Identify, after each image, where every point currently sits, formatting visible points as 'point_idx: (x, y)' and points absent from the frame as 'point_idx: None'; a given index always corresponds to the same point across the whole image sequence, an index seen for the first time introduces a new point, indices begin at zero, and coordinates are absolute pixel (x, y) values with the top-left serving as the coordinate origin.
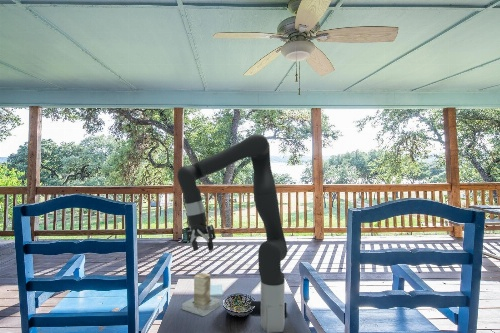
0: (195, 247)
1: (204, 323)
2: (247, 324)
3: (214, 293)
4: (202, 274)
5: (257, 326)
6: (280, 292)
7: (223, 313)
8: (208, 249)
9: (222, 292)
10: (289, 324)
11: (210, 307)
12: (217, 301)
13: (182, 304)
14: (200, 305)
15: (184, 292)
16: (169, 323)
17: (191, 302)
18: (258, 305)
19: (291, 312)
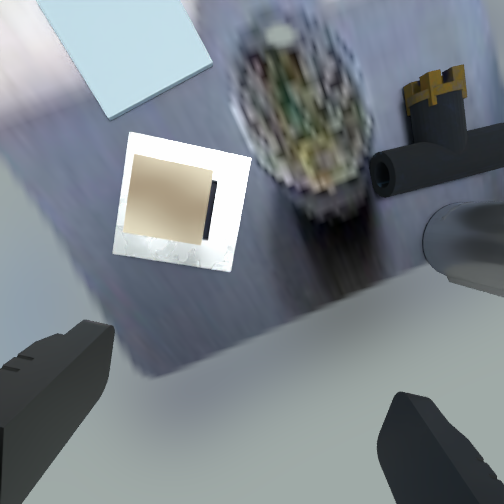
0: (82, 401)
1: (254, 305)
2: (383, 257)
3: (170, 70)
4: (160, 186)
5: (414, 256)
6: None
7: (283, 219)
8: (385, 471)
9: (201, 46)
10: None
11: (237, 231)
12: (243, 179)
13: (114, 252)
14: None
15: (10, 91)
16: (143, 352)
17: None
18: (422, 182)
19: None
